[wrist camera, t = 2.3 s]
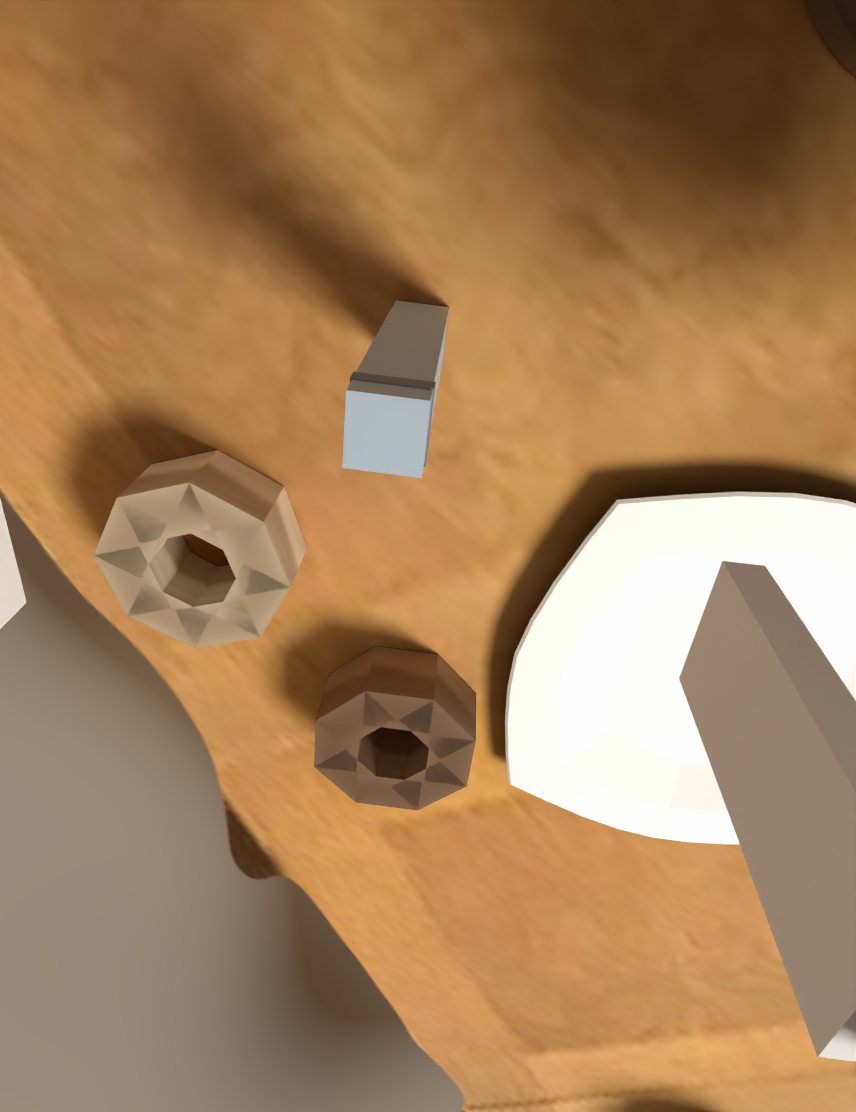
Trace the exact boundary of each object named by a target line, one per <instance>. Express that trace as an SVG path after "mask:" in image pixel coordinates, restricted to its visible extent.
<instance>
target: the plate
mask: <svg viewBox="0 0 856 1112" xmlns="http://www.w3.org/2000/svg"><path fill="white" fill-rule="evenodd" d="M722 561H729V562H737V563H746V564H755V565H764V566H766V568H767V569H768V571H769V572H770V574H771V575H772V577H773V578H774V579H775V581H776V582H777V584H778V585H779V587H780V588H781V590H782V591H783V593H784V594H785V596H786V597H787V599H788V600H789V602H790V603H791V605H792V606H793V608H794V609H795V611H796V612H797V614H798V615H799V617H800V618H801V620H802V621H803V623H804V624H805V626H806V627H807V629H808V630H809V632H810V633H811V635H812V636H813V638H814V639H815V641H816V642H817V644H818V645H819V647H820V648H821V650H822V651H823V653H824V654H825V656H826V657H827V659H828V660H829V662H830V663H831V665H832V666H833V668H834V669H835V671H836V672H837V674H838V675H839V677H840V678H841V680H842V681H843V683H844V684H845V686H846V687H847V689H848V690H849V691H850V693H851V694H852V696H853V697H854V699H855V700H856V503H853V502H849V501H846V500H840V499H833V498H826V497H819V496H812V495H805V494H798V493H784V492H743V491H732V492H714V493H695V494H677V495H664V496H651V497H639V498H626V499H617V500H616V501H615V502H614V503H613V505H612V506H611V507H610V508H609V510H608V511H607V512H606V513H605V515H604V516H603V517H602V518H601V520H600V521H599V522H598V523H597V525H596V526H595V527H594V528H593V529H592V531H591V532H590V533H589V534H588V536H587V537H586V538H585V540H584V541H583V542H582V544H581V545H580V546H579V548H578V549H577V551H576V552H575V553H574V555H573V556H572V557H571V559H570V560H569V561H568V563H567V564H566V566H565V567H564V568H563V570H562V571H561V572H560V574H559V575H558V576H557V578H556V579H555V581H554V582H553V584H552V585H551V587H550V589H549V590H548V592H547V593H546V595H545V597H544V598H543V600H542V602H541V603H540V605H539V606H538V608H537V610H536V611H535V613H534V614H533V616H532V618H531V620H530V622H529V624H528V626H527V628H526V630H525V632H524V634H523V636H522V638H521V641H520V643H519V645H518V647H517V649H516V651H515V654H514V658H513V663H512V668H511V672H510V677H509V682H508V687H507V700H506V713H505V743H506V763H507V773H508V783H509V784H511V785H513V786H515V787H517V788H519V789H522V790H524V791H526V792H528V793H530V794H532V795H535V796H537V797H539V798H541V799H543V800H545V801H548V802H550V803H552V804H555V805H557V806H559V807H562V808H564V809H566V810H569V811H571V812H573V813H576V814H578V815H580V816H583V817H586V818H588V819H591V820H594V821H597V822H600V823H603V824H606V825H608V826H611V827H614V828H617V829H621V830H625V831H629V832H633V833H637V834H641V835H645V836H649V837H654V838H661V839H668V840H676V841H683V842H696V843H715V844H740V843H739V841H738V838H737V835H736V833H735V830H734V827H733V824H732V822H731V819H730V816H729V813H728V811H727V808H726V805H725V803H724V800H723V797H722V794H721V792H720V789H719V786H718V783H717V781H716V778H715V775H714V773H713V770H712V767H711V764H710V762H709V759H708V756H707V754H706V751H705V748H704V745H703V743H702V740H701V737H700V734H699V732H698V729H697V726H696V724H695V721H694V718H693V715H692V713H691V710H690V707H689V704H688V702H687V699H686V696H685V694H684V691H683V688H682V685H681V683H680V680H679V677H680V674H681V672H682V669H683V666H684V663H685V661H686V658H687V655H688V653H689V650H690V647H691V644H692V642H693V639H694V636H695V634H696V631H697V628H698V625H699V623H700V620H701V617H702V615H703V612H704V609H705V606H706V604H707V601H708V598H709V596H710V593H711V590H712V587H713V585H714V582H715V579H716V577H717V574H718V571H719V568H720V566H721V563H722Z"/></svg>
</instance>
